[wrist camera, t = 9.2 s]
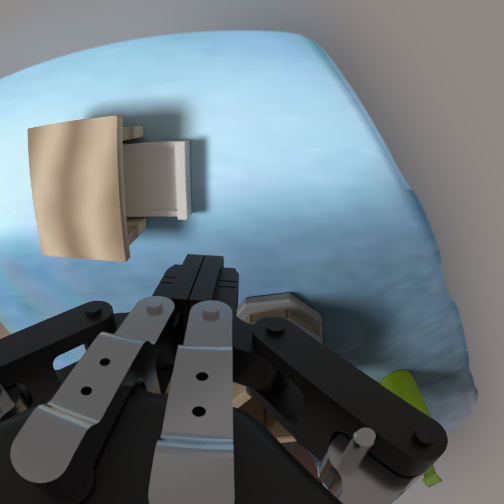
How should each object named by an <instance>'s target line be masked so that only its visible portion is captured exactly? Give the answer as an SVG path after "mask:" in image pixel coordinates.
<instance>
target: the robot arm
mask: <svg viewBox="0 0 504 504" xmlns="http://www.w3.org/2000/svg"><path fill="white" fill-rule="evenodd" d="M238 285H239V274H238V272H237V271H236V269H235V268H224V258H223V256H212V255H206V256H205V255H195V254H188V255H187V256H186V258H185V260H184V262H183V264H182V265H173V266H172V267H170V268H169V269H167V271H166V272H165V274H164V276H163V278H162V279H161V281H160V283H159V285H158V286H157V288H156V290H155V292H154V294H153V295H152V296H151V297H147V298H144V299H142V300H140V301H139V302H138V303H137V304H136V305H135V306H134V308H133V309H132V310H131V312H128V313H116V314H114V313H113V309H112V306H111V305H110V304H109V303H107V302H104V301H92V302H88V303H85V304H83V305H80V306H78V307H75V308H73V309H71V310H68V311H66V312H63V313H61V314H59V315H56V316H54V317H51V318H49V319H47V320H44V321H42V322H39V323H37V324H35V325H32V326H30V327H28V328H25V329H23V330H21V331H18V332H16V333H13V334H11V335H9V336H6V337H4V338H2V339H0V504H391V503H392V502H393V501H394V500H396V499H397V498H398V497H399V496H400V495H402V494H403V493H404V492H405V491H406V490H407V489H408V488H409V487H410V486H411V485H412V484H413V483H414V482H416V481H417V480H418V479H419V478H420V477H421V476H422V475H423V474H424V473H425V472H426V471H427V470H428V469H429V468H430V467H431V466H432V465H433V464H434V462H435V461H436V460H437V459H438V458H439V457H440V456H441V455H442V454H443V452H444V451H445V450H446V447H447V443H448V439H447V435H446V432H445V430H444V428H443V427H442V426H441V425H440V424H439V423H438V422H437V421H435V420H434V419H432V418H430V417H429V416H427V415H426V414H424V413H423V412H421V411H420V410H418V409H417V408H415V407H414V406H412V405H411V404H409V403H408V402H406V401H405V400H403V399H402V398H400V397H399V396H397V395H396V394H394V393H393V392H391V391H390V390H388V389H387V388H385V387H384V386H382V385H381V384H379V383H378V382H376V381H375V380H373V379H372V378H370V377H369V376H368V375H366V374H365V373H363V372H362V371H360V370H359V369H357V368H356V367H354V366H353V365H352V364H350V363H349V362H347V361H346V360H344V359H343V358H341V357H340V356H339V355H337V354H336V353H334V352H333V351H331V350H330V349H329V348H327V347H326V346H324V345H323V344H322V343H320V342H319V341H317V340H316V339H315V338H313V337H312V336H310V335H309V334H308V333H306V332H305V331H303V330H302V329H301V328H299V327H298V326H296V325H295V324H294V323H292V322H291V321H289V320H287V319H284V318H280V317H266V318H262V319H260V320H258V321H257V322H256V323H255V324H254V325H253V324H250V323H247V322H244V321H242V320H241V319H240V318H238V317H237V308H238ZM82 344H84V346H85V349H86V352H85V353H84V355H83V356H82V357H81V359H80V360H79V361H77V362H75V363H73V364H71V365H69V366H67V367H64V368H62V369H60V370H54V368H53V361H54V359H55V358H56V357H57V356H59V355H61V354H63V353H65V352H67V351H69V350H72V349H74V348H76V347H78V346H80V345H82ZM233 382H234V383H237V384H240V385H243V386H247V387H249V392H250V394H251V396H252V397H253V398H254V399H255V400H256V401H257V402H258V403H259V404H260V405H261V406H262V407H263V408H264V409H265V410H266V411H267V412H268V413H269V414H270V415H271V416H272V417H273V418H274V419H275V420H277V421H278V422H279V423H280V424H281V425H282V426H283V427H284V428H285V429H286V430H287V431H288V432H289V433H290V434H291V435H292V436H294V437H295V438H296V439H297V440H298V441H299V442H300V443H301V444H302V445H303V446H304V447H306V448H307V449H308V450H309V451H310V452H311V453H312V454H313V455H315V456H316V457H317V458H318V459H319V460H320V461H321V464H320V467H319V475H320V478H321V480H322V481H323V483H324V484H325V485H326V486H327V487H328V489H329V490H328V489H326V487H324V486H323V485H322V484H321V483H320V482H319V481H318V480H317V479H316V478H315V477H314V476H313V475H312V474H311V473H310V472H309V471H308V470H307V469H306V468H305V467H304V466H303V465H302V464H301V463H300V462H299V461H298V460H297V459H296V458H295V457H294V456H293V455H292V454H291V453H290V452H289V451H288V450H287V449H286V448H285V447H284V446H283V445H282V444H281V443H280V442H279V441H278V440H277V439H276V438H275V437H274V436H273V435H272V433H271V432H270V431H269V430H268V429H267V428H266V427H265V426H264V425H263V424H262V423H261V422H259V421H258V420H257V419H256V418H254V417H253V416H251V415H250V414H248V413H246V412H244V411H242V410H240V409H238V408H235V407H233Z"/></svg>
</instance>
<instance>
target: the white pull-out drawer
mask: <svg viewBox="0 0 504 504" xmlns="http://www.w3.org/2000/svg"><path fill="white" fill-rule="evenodd" d="M123 174H124V193H125V208H126V217H178V220H187V219H188V218H189V216H190V215H191V214H192V201H191V169H190V140H174V141H155V142H141V143H128V144H123Z"/></svg>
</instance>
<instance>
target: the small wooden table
mask: <svg viewBox="0 0 504 504" xmlns="http://www.w3.org/2000/svg"><path fill="white" fill-rule="evenodd" d="M138 137H144V126H130V127H123V115H116V116H106V117H97V118H89V119H82V120H75V121H68V122H62V123H56V124H50V125H45V126H39V127H34V128H29V129H28V151H29V166H30V177H31V187H32V195H33V203H34V210H35V217H36V223H37V229H38V234H39V240H40V245H41V250H42V254H43V255H47V256H58V257H70V258H81V259H93V260H106V261H118V262H126V261H127V260H128V259H129V258H130V251H129V245H130V244H131V243H132V242H133V241H134V240H135V239H136V238H137V237H138V236H139V235H140V234H141V233H142V232H143V231H144V230H145V229H146V228H147V224H146V217H126V208H125V193H124V174H123V141H124V140H129V139H133V138H138Z"/></svg>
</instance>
